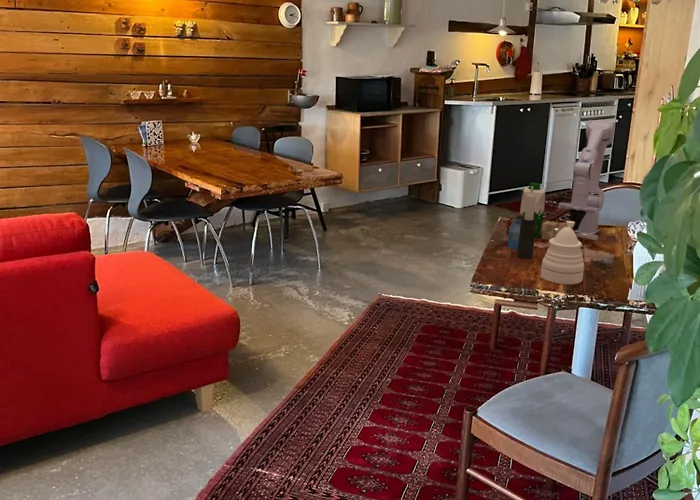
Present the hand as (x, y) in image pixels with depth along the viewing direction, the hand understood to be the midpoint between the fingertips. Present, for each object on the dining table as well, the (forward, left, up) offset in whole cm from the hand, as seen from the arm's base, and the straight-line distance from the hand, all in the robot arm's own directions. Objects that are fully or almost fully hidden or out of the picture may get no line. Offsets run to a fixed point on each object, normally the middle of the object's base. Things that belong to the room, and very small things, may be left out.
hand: (575, 229), depth 253 cm
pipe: (0, -2, -3) cm, 3 cm away
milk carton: (0, -18, -5) cm, 18 cm away
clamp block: (0, -10, -5) cm, 11 cm away
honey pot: (+43, +10, -6) cm, 45 cm away
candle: (+29, -8, -5) cm, 31 cm away
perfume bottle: (+19, -15, -6) cm, 25 cm away
